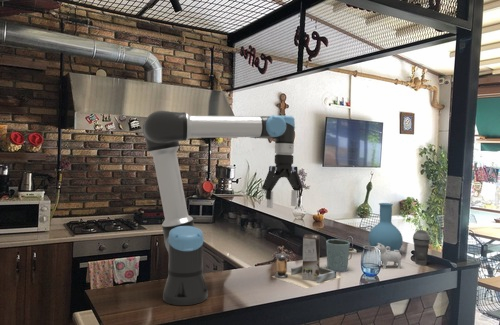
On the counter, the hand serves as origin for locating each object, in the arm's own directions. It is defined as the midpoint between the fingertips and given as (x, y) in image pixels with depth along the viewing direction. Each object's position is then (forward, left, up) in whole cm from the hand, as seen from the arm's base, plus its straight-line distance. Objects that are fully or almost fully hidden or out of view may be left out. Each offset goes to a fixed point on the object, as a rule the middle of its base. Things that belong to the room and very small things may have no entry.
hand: (282, 207), depth 157 cm
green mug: (+27, -8, -29) cm, 40 cm away
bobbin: (-2, -2, -27) cm, 27 cm away
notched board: (+6, -9, -28) cm, 30 cm away
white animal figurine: (+47, -20, -29) cm, 58 cm away
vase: (+71, -5, -28) cm, 76 cm away
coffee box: (+7, -10, -27) cm, 30 cm away
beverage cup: (+64, -27, -28) cm, 75 cm away
